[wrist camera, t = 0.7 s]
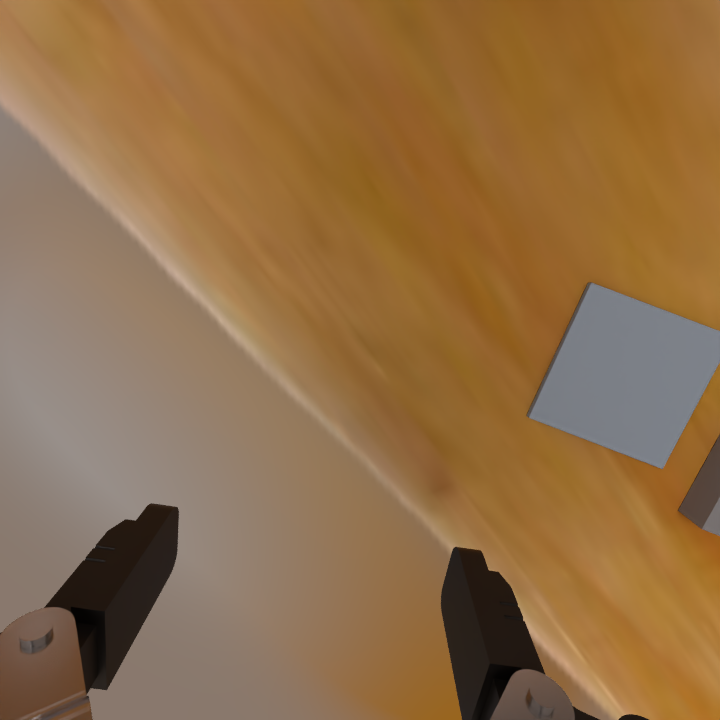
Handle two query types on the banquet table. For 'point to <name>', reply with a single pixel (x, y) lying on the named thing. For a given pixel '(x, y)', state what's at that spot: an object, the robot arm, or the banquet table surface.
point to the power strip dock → (705, 494)
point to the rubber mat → (627, 375)
